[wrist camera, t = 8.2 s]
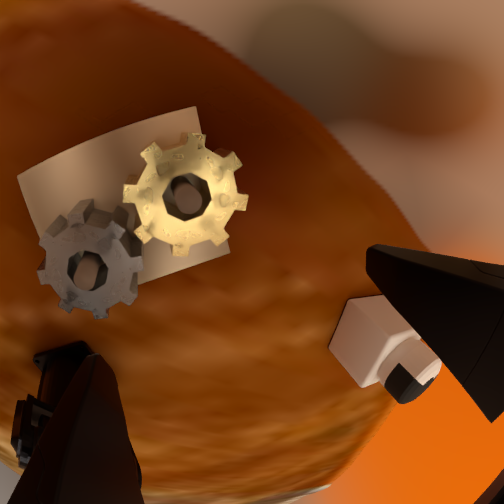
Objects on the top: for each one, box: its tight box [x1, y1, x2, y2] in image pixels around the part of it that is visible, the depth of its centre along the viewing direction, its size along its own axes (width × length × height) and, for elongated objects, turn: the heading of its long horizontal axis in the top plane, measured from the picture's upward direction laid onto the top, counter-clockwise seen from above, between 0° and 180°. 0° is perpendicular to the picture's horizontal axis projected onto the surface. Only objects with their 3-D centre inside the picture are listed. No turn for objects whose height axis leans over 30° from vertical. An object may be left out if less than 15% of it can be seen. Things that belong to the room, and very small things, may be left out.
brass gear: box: [123, 132, 249, 256], centre depth 15 cm, size 6×6×3 cm
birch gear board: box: [17, 106, 230, 290], centre depth 14 cm, size 12×10×5 cm
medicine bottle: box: [329, 295, 441, 404], centre depth 25 cm, size 7×7×12 cm
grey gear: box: [37, 198, 144, 319], centre depth 14 cm, size 6×6×3 cm
